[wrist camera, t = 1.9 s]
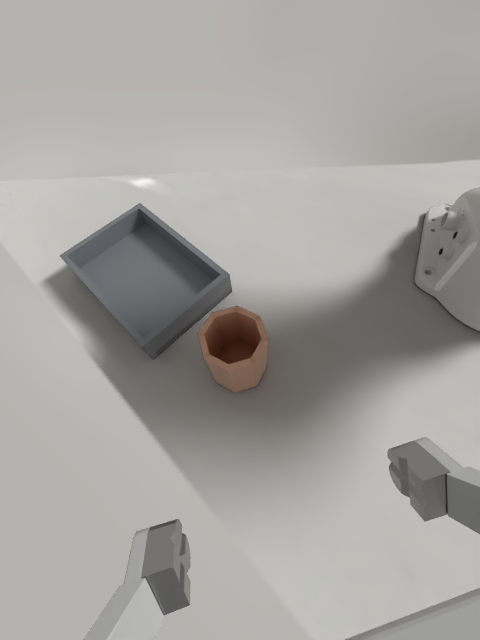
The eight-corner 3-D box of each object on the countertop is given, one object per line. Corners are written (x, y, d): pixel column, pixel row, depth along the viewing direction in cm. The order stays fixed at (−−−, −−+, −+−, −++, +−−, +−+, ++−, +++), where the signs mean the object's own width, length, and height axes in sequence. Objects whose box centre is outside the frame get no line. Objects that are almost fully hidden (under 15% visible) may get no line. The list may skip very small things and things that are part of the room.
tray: (75, 273, 43) (59, 255, 40) (148, 222, 47) (139, 202, 44) (153, 359, 36) (141, 347, 33) (232, 291, 40) (229, 274, 37)
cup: (207, 348, 36) (194, 317, 29) (255, 334, 37) (254, 300, 29) (219, 397, 33) (208, 376, 26) (271, 381, 34) (274, 357, 26)
